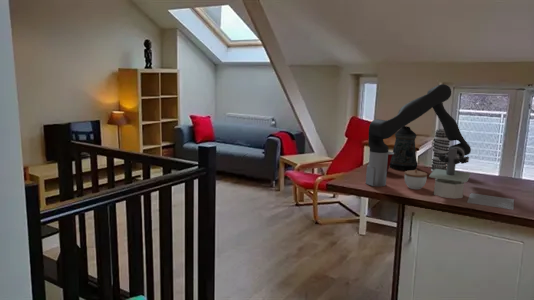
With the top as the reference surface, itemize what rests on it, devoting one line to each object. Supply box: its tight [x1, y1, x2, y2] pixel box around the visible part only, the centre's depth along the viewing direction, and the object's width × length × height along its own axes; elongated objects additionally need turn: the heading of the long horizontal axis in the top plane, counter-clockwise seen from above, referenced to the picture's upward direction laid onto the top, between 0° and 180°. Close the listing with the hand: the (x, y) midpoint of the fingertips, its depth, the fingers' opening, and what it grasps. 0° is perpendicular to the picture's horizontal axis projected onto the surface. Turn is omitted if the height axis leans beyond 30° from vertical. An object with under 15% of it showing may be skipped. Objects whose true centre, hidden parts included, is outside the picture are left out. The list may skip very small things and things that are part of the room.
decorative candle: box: [430, 128, 451, 172], centre depth 250 cm, size 9×9×25 cm
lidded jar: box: [404, 168, 428, 190], centre depth 213 cm, size 11×11×9 cm
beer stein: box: [389, 125, 419, 171], centre depth 258 cm, size 16×19×25 cm
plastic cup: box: [387, 150, 394, 173], centre depth 247 cm, size 11×11×12 cm
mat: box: [466, 192, 515, 211], centre depth 192 cm, size 18×18×1 cm
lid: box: [428, 148, 472, 183], centre depth 199 cm, size 16×16×13 cm
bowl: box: [433, 178, 465, 199], centre depth 201 cm, size 12×12×7 cm
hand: (450, 161), depth 196 cm, fingers closed on lid, 3 cm apart
